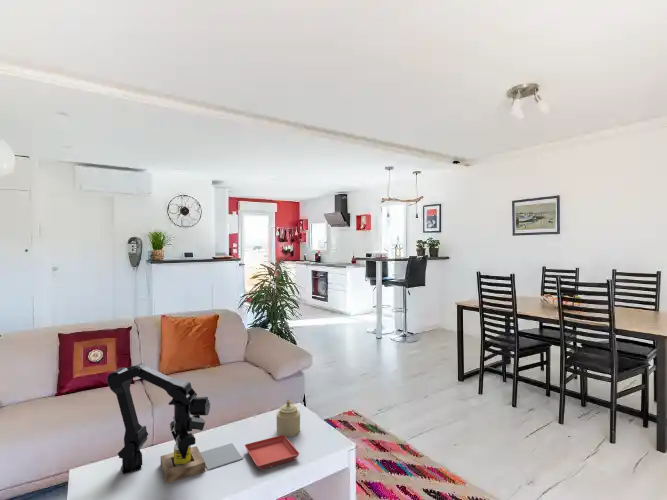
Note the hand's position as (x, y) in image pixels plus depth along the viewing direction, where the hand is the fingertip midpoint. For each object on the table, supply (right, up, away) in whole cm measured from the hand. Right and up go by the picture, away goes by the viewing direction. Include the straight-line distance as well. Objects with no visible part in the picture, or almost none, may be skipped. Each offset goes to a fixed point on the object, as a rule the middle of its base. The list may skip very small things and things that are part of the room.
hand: (182, 453), depth 150 cm
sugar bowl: (+37, -5, +31) cm, 49 cm away
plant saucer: (+34, -6, +9) cm, 35 cm away
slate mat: (+13, -5, +8) cm, 16 cm away
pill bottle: (0, -5, 0) cm, 5 cm away
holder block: (0, -6, 0) cm, 6 cm away
